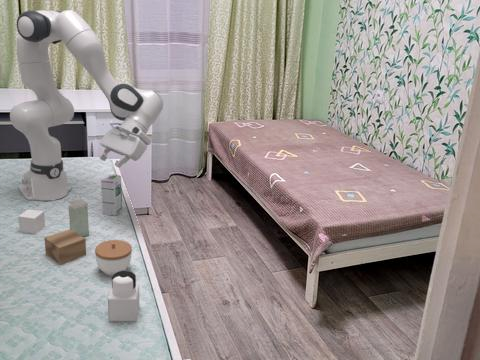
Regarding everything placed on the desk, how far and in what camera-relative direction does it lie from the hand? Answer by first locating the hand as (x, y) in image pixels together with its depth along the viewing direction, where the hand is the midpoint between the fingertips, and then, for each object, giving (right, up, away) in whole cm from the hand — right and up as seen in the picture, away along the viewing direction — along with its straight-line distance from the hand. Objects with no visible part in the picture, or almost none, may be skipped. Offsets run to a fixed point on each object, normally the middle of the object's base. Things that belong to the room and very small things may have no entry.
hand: (109, 163), depth 170 cm
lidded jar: (+7, -34, -20) cm, 40 cm away
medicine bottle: (+14, -42, -39) cm, 59 cm away
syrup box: (-4, -18, +19) cm, 27 cm away
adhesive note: (-27, -23, +2) cm, 36 cm away
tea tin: (-10, -25, 0) cm, 27 cm away
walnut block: (-11, -30, -13) cm, 34 cm away
